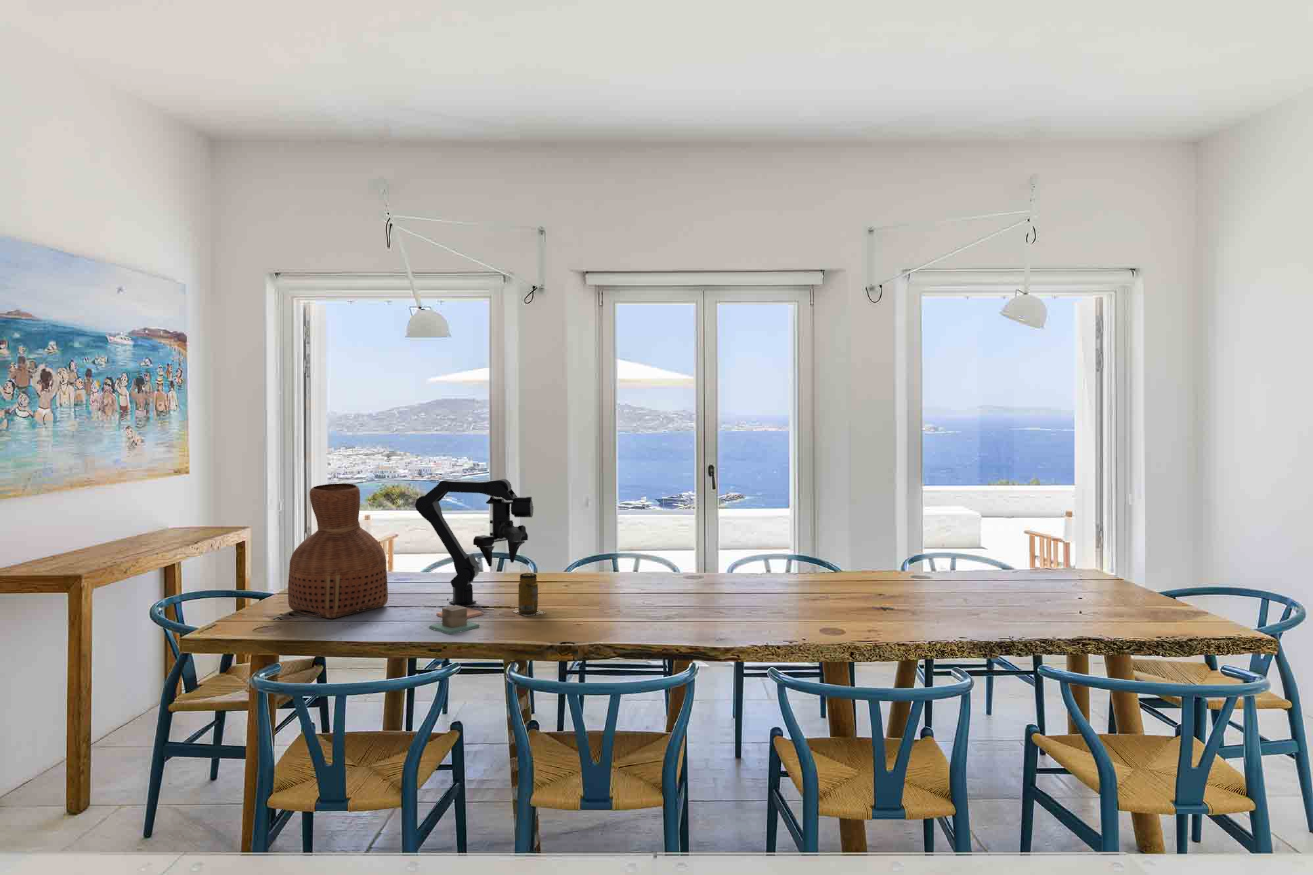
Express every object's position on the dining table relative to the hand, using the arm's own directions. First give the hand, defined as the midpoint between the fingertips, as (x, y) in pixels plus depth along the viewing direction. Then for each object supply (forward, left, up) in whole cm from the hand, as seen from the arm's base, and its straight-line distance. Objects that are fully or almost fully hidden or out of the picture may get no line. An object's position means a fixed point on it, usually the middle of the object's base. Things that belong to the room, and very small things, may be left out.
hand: (501, 564), depth 252 cm
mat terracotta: (+2, -18, -13) cm, 22 cm away
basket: (-34, -38, -13) cm, 53 cm away
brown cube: (+13, -28, -12) cm, 33 cm away
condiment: (+16, -2, -13) cm, 21 cm away
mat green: (+13, -28, -13) cm, 33 cm away
